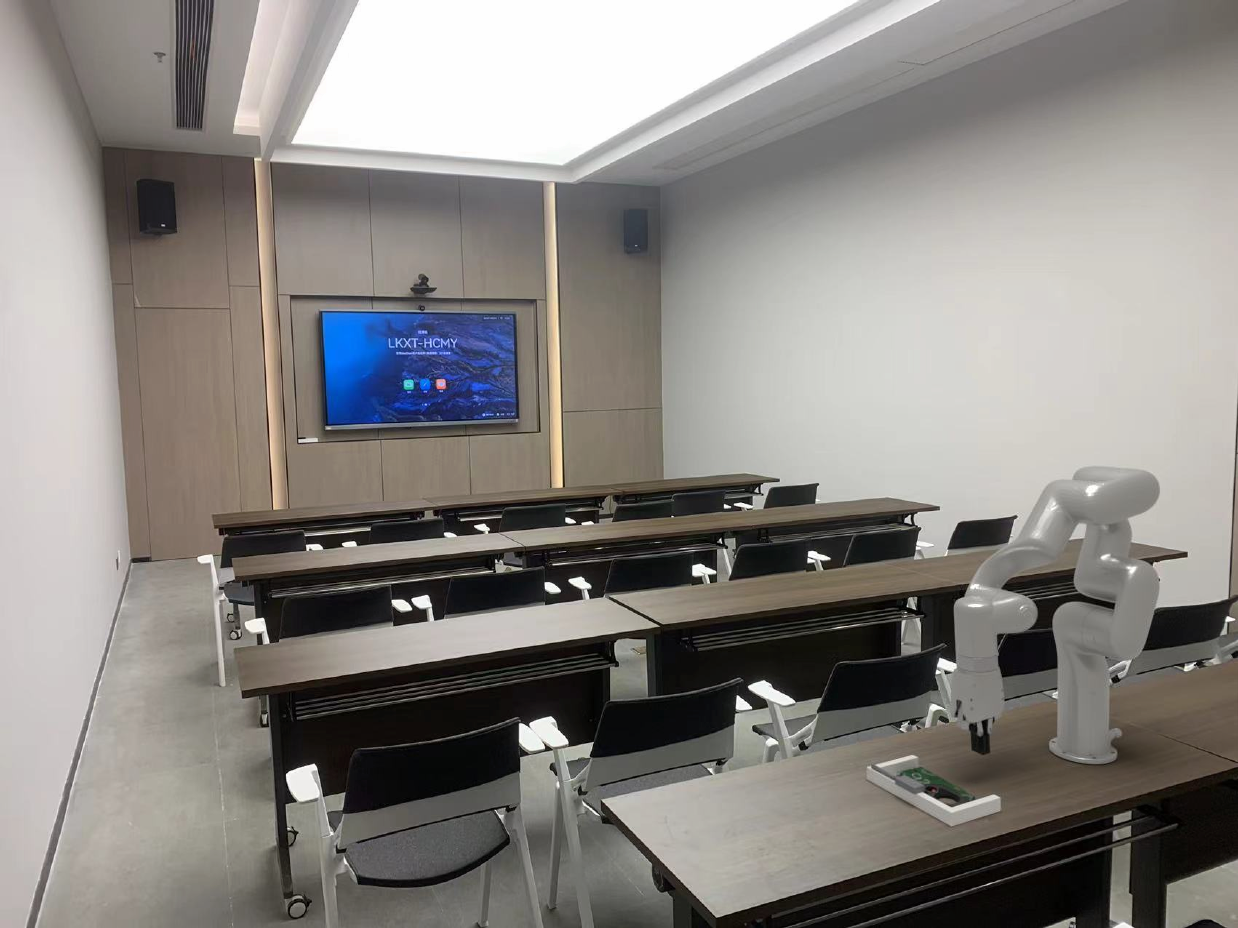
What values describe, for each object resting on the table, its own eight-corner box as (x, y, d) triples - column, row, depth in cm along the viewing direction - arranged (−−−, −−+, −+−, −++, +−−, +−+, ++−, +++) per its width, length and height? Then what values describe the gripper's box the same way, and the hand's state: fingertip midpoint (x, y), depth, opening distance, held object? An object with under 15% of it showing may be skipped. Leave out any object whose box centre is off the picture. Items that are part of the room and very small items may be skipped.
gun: (883, 774, 176) (924, 765, 180) (883, 781, 176) (924, 772, 180) (939, 809, 161) (983, 798, 165) (939, 817, 161) (983, 806, 165)
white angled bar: (913, 766, 182) (912, 749, 181) (1000, 810, 162) (1000, 791, 162) (865, 779, 176) (864, 761, 176) (949, 827, 157) (949, 806, 156)
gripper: (989, 648, 179) (993, 736, 181) (933, 664, 173) (937, 754, 174) (1020, 658, 172) (1023, 748, 174) (963, 674, 166) (967, 769, 168)
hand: (980, 751), depth 174 cm, fingers closed
